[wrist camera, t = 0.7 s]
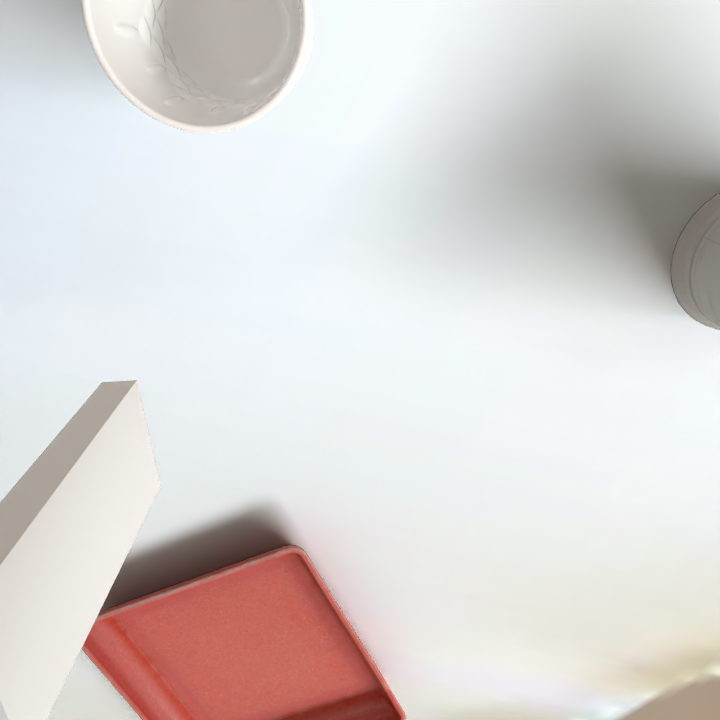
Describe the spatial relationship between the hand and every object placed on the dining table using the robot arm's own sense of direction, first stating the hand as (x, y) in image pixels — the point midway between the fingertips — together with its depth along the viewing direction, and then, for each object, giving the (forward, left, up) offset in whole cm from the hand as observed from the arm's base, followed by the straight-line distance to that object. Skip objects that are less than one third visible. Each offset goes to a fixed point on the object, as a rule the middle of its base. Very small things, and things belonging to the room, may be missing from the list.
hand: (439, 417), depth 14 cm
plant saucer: (-9, -33, -23) cm, 41 cm away
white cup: (-8, +8, -23) cm, 26 cm away
